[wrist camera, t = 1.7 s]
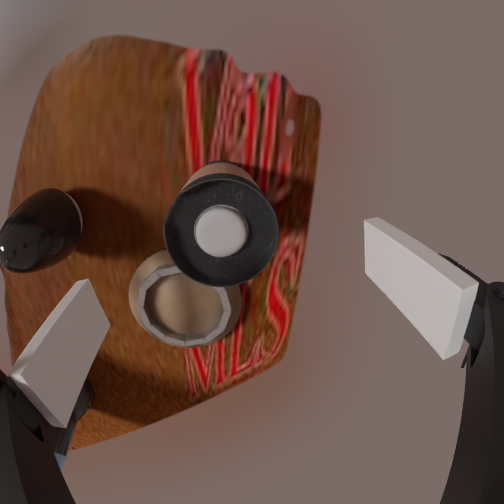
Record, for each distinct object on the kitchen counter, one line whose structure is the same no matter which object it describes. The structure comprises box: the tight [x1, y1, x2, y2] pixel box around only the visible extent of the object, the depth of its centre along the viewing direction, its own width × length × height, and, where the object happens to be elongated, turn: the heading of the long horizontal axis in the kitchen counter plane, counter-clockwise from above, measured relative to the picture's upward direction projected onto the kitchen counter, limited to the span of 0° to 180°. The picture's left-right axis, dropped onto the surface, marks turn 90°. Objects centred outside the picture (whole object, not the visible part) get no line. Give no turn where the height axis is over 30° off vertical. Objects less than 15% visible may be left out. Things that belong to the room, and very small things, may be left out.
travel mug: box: [163, 160, 279, 287], centre depth 27 cm, size 8×8×20 cm
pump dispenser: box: [0, 188, 82, 273], centre depth 28 cm, size 10×10×15 cm
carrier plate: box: [129, 248, 242, 348], centre depth 40 cm, size 17×17×3 cm
